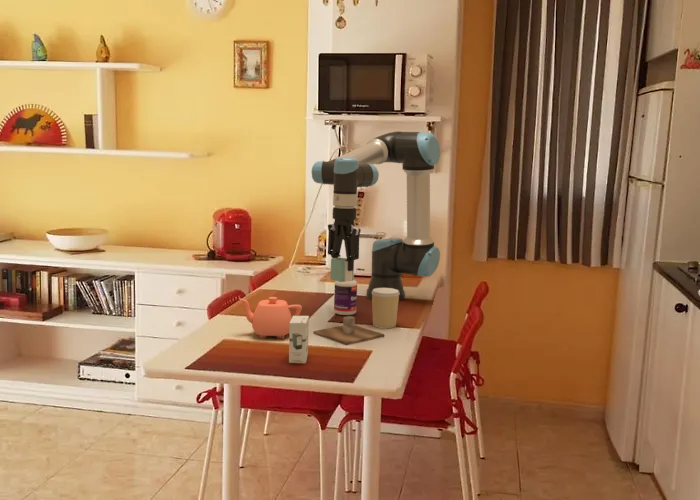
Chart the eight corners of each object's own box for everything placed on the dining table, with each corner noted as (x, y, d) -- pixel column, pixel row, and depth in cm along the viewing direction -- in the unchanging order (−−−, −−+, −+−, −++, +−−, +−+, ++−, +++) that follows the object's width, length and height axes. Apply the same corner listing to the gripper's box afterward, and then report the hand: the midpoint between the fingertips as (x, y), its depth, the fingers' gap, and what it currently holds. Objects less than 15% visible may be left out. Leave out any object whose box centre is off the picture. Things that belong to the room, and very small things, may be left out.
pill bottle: (353, 316, 265) (355, 276, 262) (331, 315, 266) (332, 275, 264) (358, 311, 273) (359, 272, 270) (336, 309, 274) (337, 270, 272)
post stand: (350, 325, 253) (350, 309, 252) (383, 336, 241) (384, 318, 240) (313, 333, 242) (313, 315, 241) (346, 345, 230) (346, 326, 229)
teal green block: (342, 277, 246) (343, 257, 245) (353, 280, 242) (354, 260, 241) (330, 279, 243) (331, 259, 242) (340, 282, 239) (341, 261, 238)
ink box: (291, 353, 220) (292, 314, 218) (308, 354, 220) (309, 315, 218) (288, 363, 211) (288, 322, 210) (305, 363, 211) (306, 322, 209)
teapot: (240, 328, 246) (241, 291, 244) (302, 329, 246) (303, 293, 244) (235, 340, 232) (235, 301, 230) (300, 341, 233) (301, 303, 231)
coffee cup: (401, 323, 258) (402, 289, 256) (393, 330, 249) (395, 294, 247) (375, 320, 261) (376, 286, 259) (366, 327, 252) (368, 291, 250)
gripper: (317, 204, 243) (315, 275, 247) (354, 210, 230) (351, 285, 233) (335, 203, 248) (333, 273, 252) (372, 209, 234) (369, 282, 238)
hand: (342, 279), depth 242 cm, fingers closed on teal green block, 5 cm apart
